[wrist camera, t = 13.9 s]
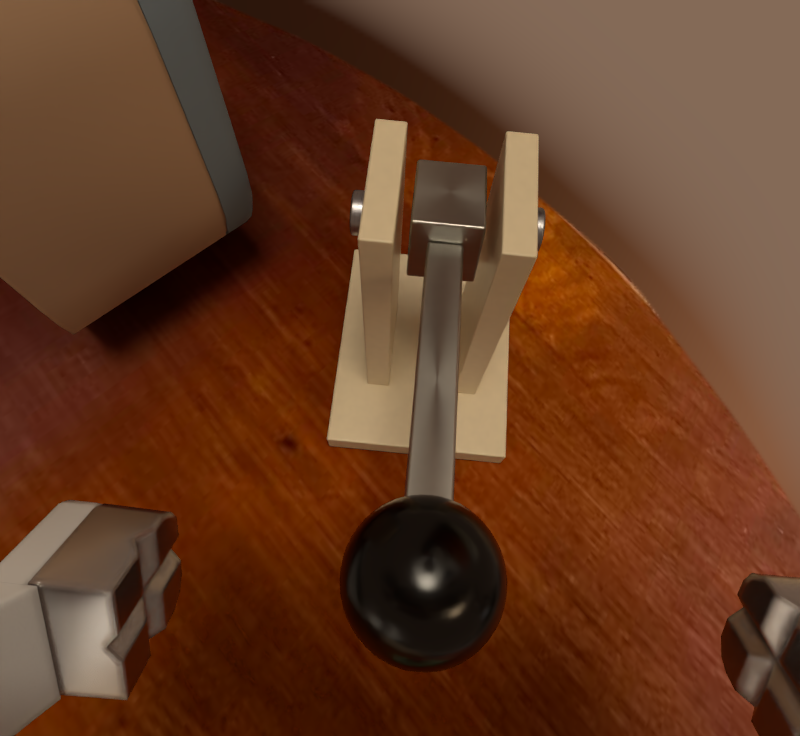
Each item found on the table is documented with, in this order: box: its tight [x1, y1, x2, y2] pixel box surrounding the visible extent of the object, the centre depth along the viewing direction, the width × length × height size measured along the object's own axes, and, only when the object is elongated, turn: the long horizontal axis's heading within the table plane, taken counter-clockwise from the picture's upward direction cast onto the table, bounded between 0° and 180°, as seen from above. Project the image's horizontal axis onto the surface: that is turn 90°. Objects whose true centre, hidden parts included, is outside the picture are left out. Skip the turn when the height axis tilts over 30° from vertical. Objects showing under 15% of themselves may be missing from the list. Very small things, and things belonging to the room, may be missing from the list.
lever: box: [340, 160, 507, 673], centre depth 15 cm, size 14×4×4 cm, turn 174°
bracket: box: [327, 119, 545, 463], centre depth 23 cm, size 10×8×13 cm
